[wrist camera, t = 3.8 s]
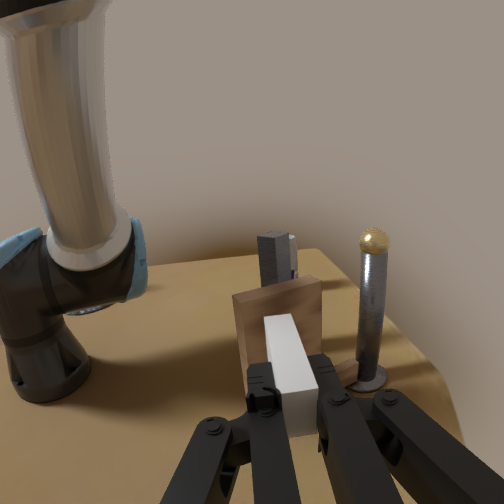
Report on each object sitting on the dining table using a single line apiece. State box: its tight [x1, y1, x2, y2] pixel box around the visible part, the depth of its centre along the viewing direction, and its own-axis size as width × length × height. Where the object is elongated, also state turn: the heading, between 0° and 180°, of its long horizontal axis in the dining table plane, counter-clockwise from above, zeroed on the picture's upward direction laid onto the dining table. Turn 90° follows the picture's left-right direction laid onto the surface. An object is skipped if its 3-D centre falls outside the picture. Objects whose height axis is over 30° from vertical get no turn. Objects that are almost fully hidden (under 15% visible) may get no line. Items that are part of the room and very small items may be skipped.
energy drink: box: [289, 235, 298, 279], centre depth 66 cm, size 5×5×12 cm
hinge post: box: [346, 228, 390, 393], centre depth 33 cm, size 6×6×20 cm
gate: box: [232, 275, 359, 395], centre depth 30 cm, size 14×2×16 cm, turn 114°
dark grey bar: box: [257, 231, 292, 288], centre depth 43 cm, size 6×6×18 cm
